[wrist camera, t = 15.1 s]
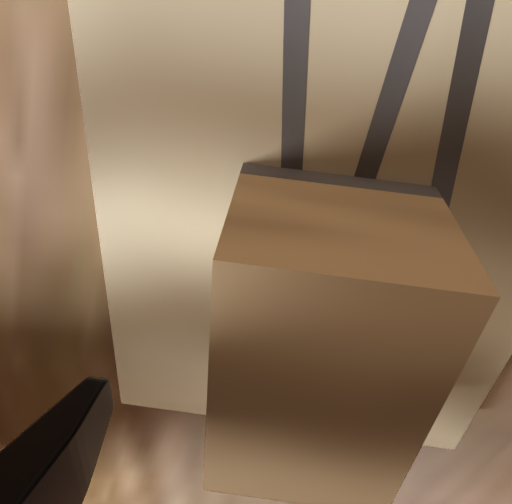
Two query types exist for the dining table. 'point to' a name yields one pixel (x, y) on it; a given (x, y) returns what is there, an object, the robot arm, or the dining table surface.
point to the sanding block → (334, 334)
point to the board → (283, 151)
